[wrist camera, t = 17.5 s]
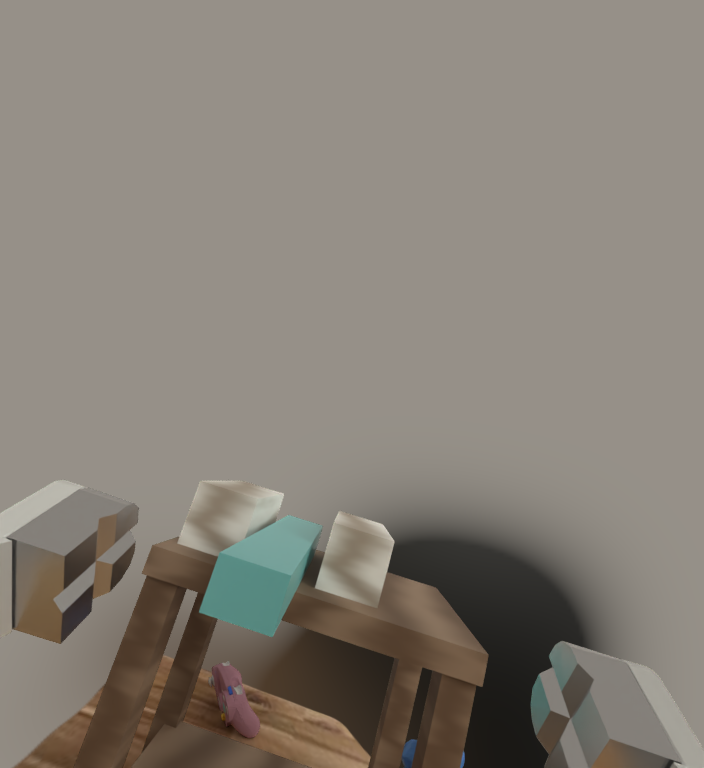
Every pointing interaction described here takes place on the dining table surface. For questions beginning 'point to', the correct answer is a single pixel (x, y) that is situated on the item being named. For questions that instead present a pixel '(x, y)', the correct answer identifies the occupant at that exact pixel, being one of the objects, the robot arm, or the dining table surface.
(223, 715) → the video game controller
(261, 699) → the dining table surface
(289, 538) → the module bar
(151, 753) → the shelf
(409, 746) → the grapes
